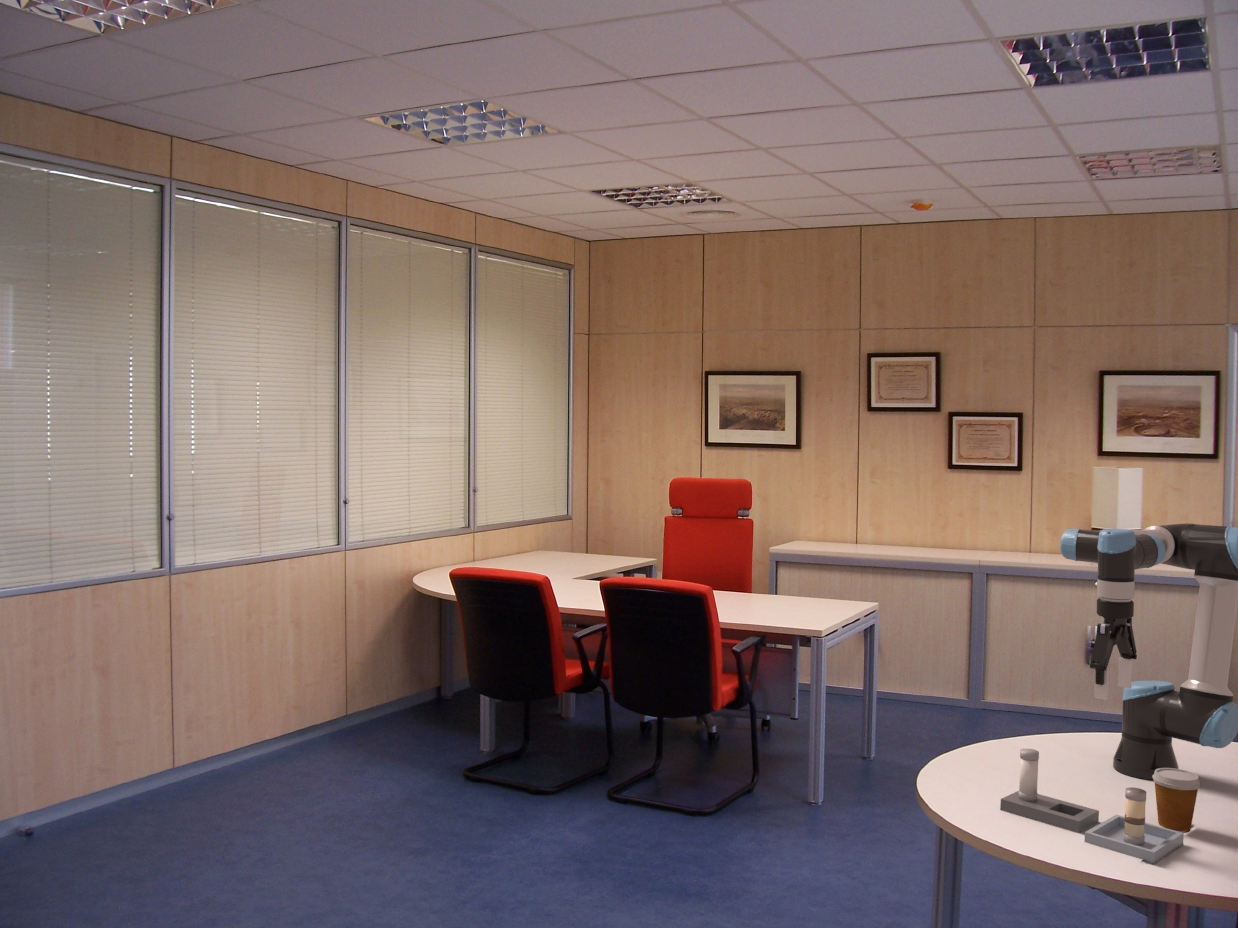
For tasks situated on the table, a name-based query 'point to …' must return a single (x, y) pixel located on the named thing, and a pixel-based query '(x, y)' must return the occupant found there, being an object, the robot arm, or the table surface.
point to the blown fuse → (1135, 816)
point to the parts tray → (1151, 852)
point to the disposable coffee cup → (1175, 797)
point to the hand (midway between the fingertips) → (1113, 692)
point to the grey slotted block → (1045, 800)
